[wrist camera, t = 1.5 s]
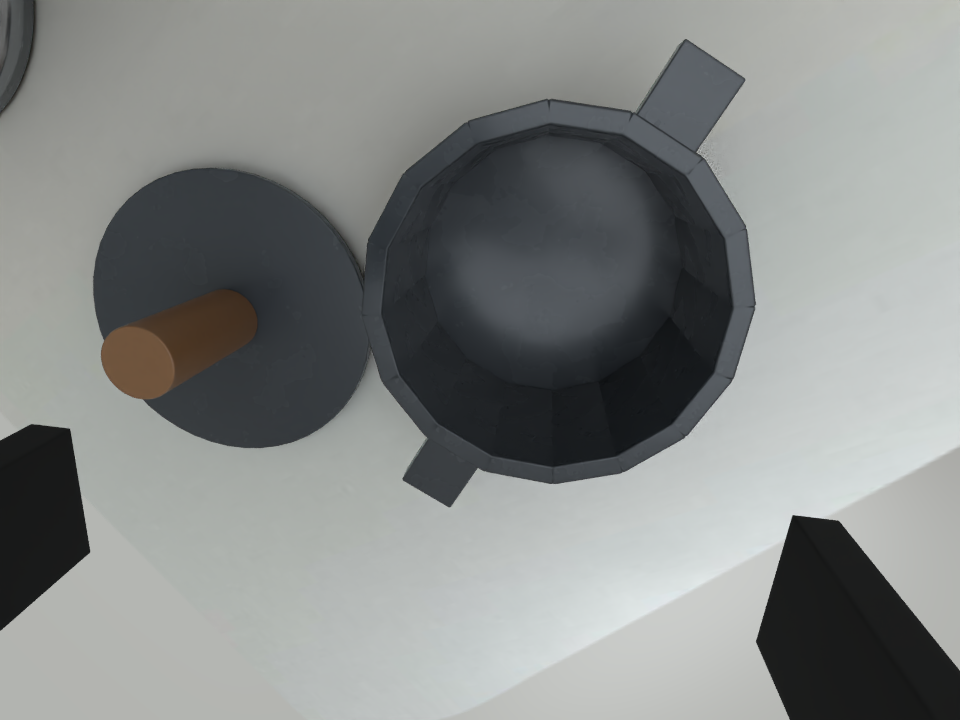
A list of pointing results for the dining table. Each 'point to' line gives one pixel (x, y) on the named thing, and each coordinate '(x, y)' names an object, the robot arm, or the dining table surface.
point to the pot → (562, 285)
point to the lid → (230, 308)
